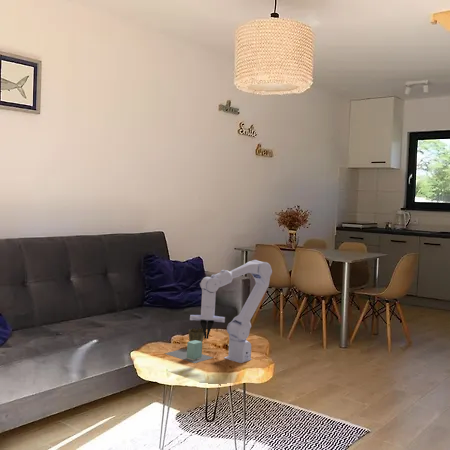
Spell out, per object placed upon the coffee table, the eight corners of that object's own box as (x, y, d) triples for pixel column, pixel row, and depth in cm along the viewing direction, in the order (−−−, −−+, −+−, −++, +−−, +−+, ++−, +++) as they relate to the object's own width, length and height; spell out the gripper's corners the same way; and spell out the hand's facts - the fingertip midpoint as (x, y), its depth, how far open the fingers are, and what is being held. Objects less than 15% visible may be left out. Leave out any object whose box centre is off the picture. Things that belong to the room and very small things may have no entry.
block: (201, 358, 232) (202, 341, 232) (193, 360, 228) (194, 343, 228) (194, 355, 235) (195, 339, 234) (186, 358, 231) (187, 341, 231)
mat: (213, 358, 234) (213, 357, 234) (194, 364, 225) (194, 363, 225) (183, 349, 245) (183, 348, 245) (164, 354, 236) (164, 353, 236)
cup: (204, 345, 253) (205, 328, 253) (202, 349, 246) (203, 332, 246) (189, 344, 254) (189, 327, 254) (186, 348, 247) (187, 331, 246)
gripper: (225, 305, 230) (223, 336, 231) (191, 303, 230) (189, 334, 231) (225, 308, 223) (223, 341, 224) (190, 306, 223) (188, 338, 224)
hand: (206, 338), depth 227 cm, fingers closed
